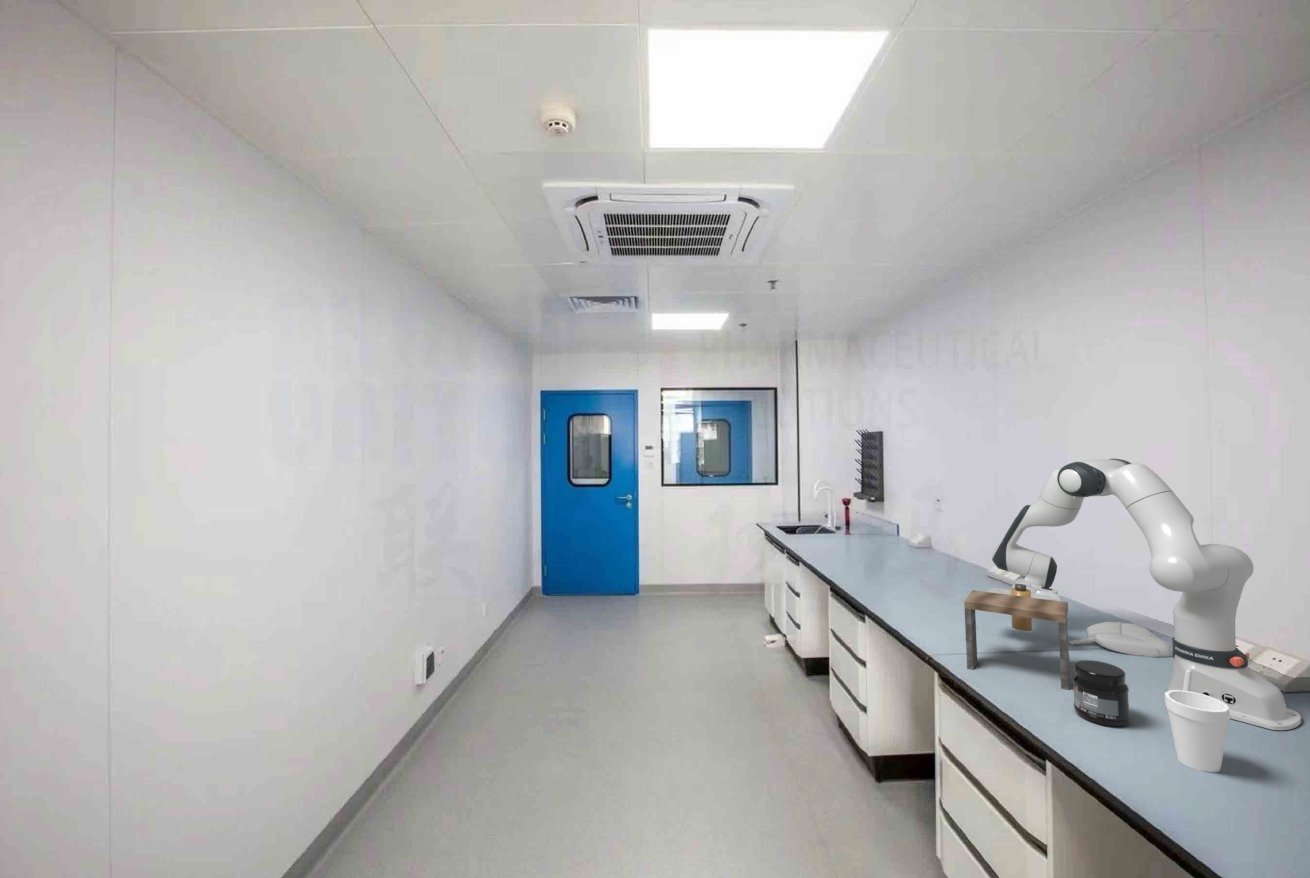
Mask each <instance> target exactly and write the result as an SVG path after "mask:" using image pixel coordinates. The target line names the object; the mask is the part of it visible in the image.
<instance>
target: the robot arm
mask: <svg viewBox="0 0 1310 878" xmlns="http://www.w3.org/2000/svg"><path fill="white" fill-rule="evenodd" d="M1111 495H1112V496H1115V497H1116V498H1117V499H1118V500H1119V501H1120V502H1121V504H1122V505H1123V506H1124V508H1125V510H1126V511H1127V512H1128V514H1129V515H1130V517H1131V518H1132V519H1133V520H1134V522H1135V523H1136V525H1137V526H1138V528H1139V529H1140V530H1141V532H1142V534H1143V535H1144V537H1145V539H1146V542H1147V545H1148V547H1149V551H1150V554H1151V559H1150V562H1149V567H1148V569H1149V572H1150V573H1149V574H1150V575H1151V577H1152V579H1153V580H1154V581H1155V582H1156V583H1157V584H1158V585H1159V586H1161V587H1162V588H1164V589H1167V590H1169V591H1173V592H1181V593H1182V594H1181V596H1180V598H1179V600H1178V601H1177V602H1176V604H1175V605H1174V607H1173V610H1172V612H1173V613H1172V614H1173V615H1172V616H1173V618H1172V619H1173V637H1172V638H1171V639H1172V640H1171V649H1172V654H1173V655H1172V658H1173V669H1172V675H1171V679H1170V682H1169V685H1168V688H1167V691H1169V690H1183V691H1191V692H1196V693H1200V694H1204V695H1207V696H1210V697H1213V698H1216V699H1218V700H1220V701H1222V702H1223V703H1225V704H1227V706H1228V707H1229V713H1230V720H1234V721H1235V720H1236V721H1238V722H1242V723H1246V724H1249V725H1252V726H1257V727H1261V728H1265V729H1268V730H1272V731H1287V730H1292V729H1295V728H1297V727H1298V726H1299V725H1301V723H1302V717H1301V715H1300V713H1299V712H1297V711H1296V710H1294V709H1290V708H1288V707H1287V704H1286V700H1285V697H1284V695H1283V692H1282V691H1281V690H1280V688H1279V687H1277V685H1275V684H1273V683H1272V682H1270V681H1269V680H1268V679H1266V678H1265V677H1263V676H1262V675H1261V674H1259V673H1258V672H1256V671H1255V670H1254V669H1252V668H1251V667H1250V666H1249V660H1248V659H1250V652H1246V653H1244V652H1243V651H1241V650H1240V649H1239V648H1238V647H1237V645H1236V644H1237V641H1236V640H1237V639H1236V638H1237V636H1236V618H1237V617H1236V615H1237V611H1238V607H1239V603H1240V600H1241V598H1242V597H1241V596H1242V593H1243V590H1244V587H1245V584H1246V583H1247V582H1248V580H1249V579H1250V578H1251V576H1253V573H1254V569H1255V568H1254V563H1253V561H1252V558H1251V557H1249V555H1248V554H1247V553H1246V552H1244V551H1243V550H1241V549H1240V548H1237V547H1235V546H1231V545H1227V544H1219V543H1207V544H1206V543H1205V544H1201V543H1200V542H1199V540H1198V539H1197V536H1196V534H1195V531H1194V527H1193V524H1194V522H1195V518H1194V516H1193V514H1192V513H1191V512H1190V510H1188V508H1187V507H1186V505H1185V504H1184V503H1183V502H1182V501H1181V499H1179V497H1178V496H1177V495H1176V493H1175V492H1174V490H1173V489H1171V487H1170V486H1169V485H1168V484H1167V483H1166V482H1165V481H1164V480H1163V479H1162V478H1161V477H1160V476H1159V475H1158V474H1157V473H1156V472H1154V471H1153V469H1152V468H1150V467H1149V466H1147V465H1145V464H1142V463H1132V462H1130V461H1129V460H1128V461H1127V460H1125V459H1120V458H1108V459H1103V458H1102V459H1097V458H1095V459H1093V458H1092V459H1086V460H1081V461H1074V462H1071V463H1070V462H1069V463H1068V464H1066V465H1064V466H1063V467H1059V468H1056V469H1054V470H1052V472H1051V473H1050V474H1049V476H1048V477H1047V479H1046V481H1045V482H1044V484H1043V487H1042V489H1041V492H1040V495H1039V497H1038V499H1037V500H1036V501H1034V502H1033V503H1032V504H1027V505H1024V506H1023V507H1022V508H1021V509H1020V511H1019V513H1018V514H1017V516H1016V517H1015V519H1014V520H1013V521H1012V523H1011V525H1010V527H1009V528H1008V530H1006V531H1007V532H1006V533H1005V535H1004V536H1003V538H1002V540H1001V541H1000V542H999V543H998V544H997V545H996V547H995V548H994V550H993V552H992V556H991V558H992V562H993V565H995V567H996V568H997V569H999V570H1002V571H1005V572H1009V573H1010V572H1011V573H1013V574H1016V575H1019V576H1018V577H1017V578H1016V579H1015V580H1014V582H1013V584H1012V585H1011V587H1010V589H1007V588H1006V589H1005V588H998V587H997V588H996V587H995V588H994V587H992V588H989V589H988V590H987V591H986V592H991V593H999V594H1007V595H1011V588H1015V584H1024V585H1026V589H1028V590H1030V591H1031V598H1038V599H1046V600H1054V601H1061V602H1063V601H1062V598H1061V596H1060V595H1059V594H1058V590H1057V589H1053V588H1051V587H1052V585H1053V583H1054V581H1055V579H1056V578H1055V577H1056V576H1057V571H1058V565H1057V562H1056V561H1055V559H1054V557H1053V556H1050V555H1048V554H1045V553H1042V552H1040V551H1037V550H1036V551H1035V550H1034V549H1033V550H1032V549H1029V548H1027V547H1024V546H1021V545H1019V544H1018V543H1017V542H1019V539H1020V538H1021V536H1022V534H1023V533H1024V532H1025V530H1026V529H1028V528H1031V527H1051V528H1053V527H1061V526H1066V525H1068V524H1070V523H1073V521H1074V520H1075V519H1076V517H1077V516H1078V514H1079V512H1080V510H1081V507H1082V505H1083V501H1084V499H1085V498H1088V497H1107V496H1108V497H1109V496H1111Z"/></svg>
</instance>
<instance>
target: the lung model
mask: <svg viewBox="0 0 1310 878" xmlns="http://www.w3.org/2000/svg"><path fill="white" fill-rule="evenodd" d="M1085 633H1086V634H1085V635H1086V638H1081V639H1080V638H1079V639H1074V640H1070V641H1069V640H1068V644H1070V643H1071V644H1070V645H1072V646H1076V645H1081V644H1088V643H1096V644H1098V645H1100V646H1101V647H1103V648H1105V649H1106V650H1110V651H1113V652H1116V653H1117V652H1118V653H1121V654H1126V655H1129V654H1131V655H1130V656H1135V655H1143V656H1142V657H1145V656H1152V657H1151V658H1169V656H1170V657H1173V653H1172V646H1171V645H1169V644H1168V642H1166V641H1165V640H1163V639H1161V638H1159V637H1157V636H1156V635H1154V634H1153V633H1152V632H1151V631H1149V630H1148V629H1146V628H1145V627H1144V626H1141V625H1139V624H1135V623H1126V622H1121V621H1105V622H1100V623H1095V624H1092V625H1091V624H1090V625H1088V627H1086V629H1085ZM1075 644H1076V645H1075ZM1153 656H1154V657H1153Z"/></svg>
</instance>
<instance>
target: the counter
mask: <svg viewBox="0 0 1310 878" xmlns="http://www.w3.org/2000/svg"><path fill="white" fill-rule="evenodd" d="M963 603H964V627H965V647H966V649H965V650H966V651H965V652H966V669H968V668H969V670H975V667H976V666H977V663H978V645H977V642H978V641H977V624H976V623H977V622H976V621H977V620H976V619H977V617H976V611H981V612H988V613H995V614H996V613H997V614H1001V615H1002V614H1003V615H1009V616H1012V615H1014V616H1021V617H1028V618H1032V619H1035V620H1042V621H1043V620H1044V621H1047V622H1048V621H1049V622H1056V623H1058V645H1059V666H1060V668H1059V669H1060V688H1061V689H1063V690H1067V691H1069V690H1070V681H1071V678H1070V658H1069V657H1070V656H1069V655H1070V654H1069V635H1068V634H1069V631H1068V630H1069V629H1068V612H1069V611H1068V610H1069V603H1068V601H1062V602H1061V601H1054V600H1046V599H1038V598H1030V597H1023V596H1015V595H1007V594H999V593H991V592H987V591H982V590H975V589H973V590H972V591H971V592H970V593H969V594H968V596H967V597H966V598H965V600H963Z"/></svg>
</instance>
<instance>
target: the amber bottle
mask: <svg viewBox="0 0 1310 878" xmlns="http://www.w3.org/2000/svg"><path fill="white" fill-rule="evenodd" d="M1010 589H1011V595H1015V596H1023V597H1030V598H1031V591H1030V590H1028V589H1026V585H1024V584H1015V588H1011V587H1010ZM1032 619H1033V618H1028V617H1021V616H1014V615H1011V628H1013V629H1014V630H1017V631H1023V632H1030V631H1032V630H1033V624H1032V623H1033V622H1032Z"/></svg>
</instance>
